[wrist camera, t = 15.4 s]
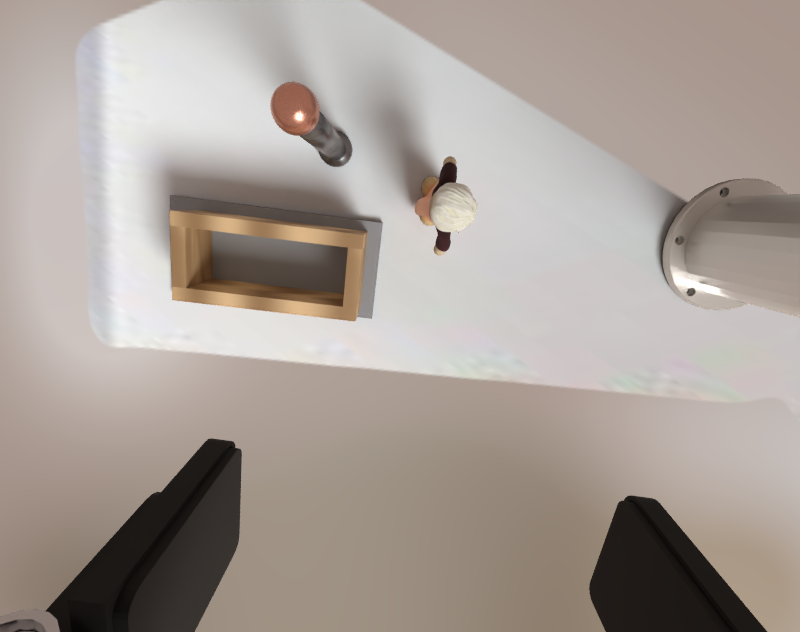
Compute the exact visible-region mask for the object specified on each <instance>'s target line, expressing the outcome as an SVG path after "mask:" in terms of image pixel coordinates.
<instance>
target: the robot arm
mask: <svg viewBox="0 0 800 632" xmlns="http://www.w3.org/2000/svg"><path fill="white" fill-rule="evenodd" d="M663 268H664V273H665V277H666V279H667V281H668V283H669V285H670V287H671V288H672V289H673V290H674V292H675V293H676V294H677V295H678V296H679V297H681V298H682V299H683V300H684V301H686V302H688V303H690V304H693V305H695V306H698V307H702V308H705V309H711V310H729V309H734V308H738V307H742V306H744V305H746V304H751V305H755V306H759V307H762V308H766V309H770V310H773V311H777V312H781V313H785V314H788V315H792V316H796V317H799V318H800V194H792V195H788V194H787V193H785V192H784V191H783V190H782V189H781V188H780V187H778V186H776V185H774V184H772V183H770V182H767V181H763V180H759V179H737V180H729V181H726V182H722V183H718V184H716V185H714V186H712V187H709V188H707V189H705V190H704V191H702V192H701V193H699V194H698V195H696V196H695V197H694V198H693V199H691V200H690V201H689V202H688V203H687V204H686V205H685V206H684V207H683V208H682V210H681V211H680V212H679V214H678V215H677V216H676V217H675V219H674V221H673V223H672V225H671V226H670V228H669V230H668V233H667V236H666V239H665V242H664V248H663ZM241 456H242V454H241V449H238V448H235V444H234V442H232V441H225V440H218V439H208V440H207V441H206V442H205V443H204V444H203V445H202V446H201V447H200V449H199V450H198V451H197V452H196V453H195V454H194V455H193V457H192V458H191V459H190V460H189V461H188V462H187V463H186V465H185V466H184V467H183V468H182V469H181V470H180V471H179V473H178V474H177V475H176V476H175V477H174V478H173V479H172V481H171V482H170V483H169V484H168V485H167V486H166V487H165V488H164V490H163V491H162V492H156V493H154V494H152V495H151V496H150V497H149V498H147V499H146V501H145V502H144V503H143V504H142V505H141V506H140V507H139V508H138V509H137V510H136V511H135V513H134V514H133V515H132V516H131V517H130V518H129V519H128V520H127V521H126V523H125V524H124V525H123V526H122V527H121V528H120V529H119V531H117V533H116V534H115V535H114V536H113V537H112V538H111V539H110V540H109V541H108V542H107V544H106V545H105V546H104V547H103V548H102V549H101V550H100V551H99V552H98V553H97V555H96V556H95V557H94V558H93V559H92V560H91V561H90V562H89V563H88V565H87V566H86V567H85V568H84V569H83V570H82V571H81V572H80V574H79V575H78V576H77V577H76V578H75V579H74V580H73V581H72V582H71V583H70V584H69V586H68V587H67V588H66V589H65V590H64V591H63V592H62V593H61V594H60V595H59V597H58V598H57V599H56V600H55V601H54V602H53V603H52V604H51V606H50V607H49V608H48V609H47V610H46V611H42V610H38V609H33V610H21V611H17V612H13V613H10V614H7V615H3V616H0V632H195V630H196V628H197V626H198V624H199V622H200V620H201V618H202V616H203V614H204V612H205V610H206V608H207V606H208V604H209V602H210V600H211V598H212V596H213V595H214V592H215V591H216V588H217V587H218V585H219V583H220V581H221V579H222V577H223V575H224V573H225V571H226V569H227V567H228V565H229V563H230V561H231V559H232V557H233V555H234V553H235V551H236V548H237V545H238V541H239V526H240V525H239V524H240V492H241V491H240V490H241V489H240V488H241ZM589 589H590V596H591V600H592V602H593V604H594V607H595V609H596V611H597V613H598V616H599V618H600V620H601V622H602V624H603V626H604V629H605V631H606V632H767V631H766V630H765V629H764V628H763V626H762V625H761V624H760V623H759V622H758V620H757V619H756V618H755V617H754V615H753V614H752V613H751V612H750V611H749V609H748V608H747V607H746V606H745V605H744V603H743V602H742V601H741V600H740V599H739V597H738V596H737V595H736V594H735V593H734V591H733V590H732V589H731V588H730V587H729V586H728V584H727V583H726V582H725V581H724V580H723V579H722V577H721V576H720V575H719V574H718V572H717V571H716V570H715V569H714V568H713V566H712V565H711V564H710V563H709V562H708V561H707V559H706V558H705V557H704V556H703V554H702V553H701V552H700V551H699V550H698V549H697V547H696V546H695V545H694V544H693V543H692V541H691V540H690V539H689V538H688V537H687V535H686V534H685V533H684V532H683V531H682V529H681V528H680V527H679V526H678V525H677V523H676V522H675V521H674V520H673V519H672V517H671V516H670V515H669V514H668V513H667V511H666V510H665V509H664V508H663V507H662V506H661V504H660V503H659V502H658V501H657V500H655V499H652V498H645V497H637V496H627V497H626V498H625V500H624V501H621V502H619V503H618V505H617V508H616V511H615V514H614V517H613V519H612V522H611V525H610V528H609V531H608V533H607V536H606V539H605V542H604V545H603V548H602V550H601V553H600V556H599V559H598V562H597V565H596V567H595V570H594V573H593V576H592V579H591V581H590V588H589Z"/></svg>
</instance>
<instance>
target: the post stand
mask: <svg viewBox="0 0 800 632" xmlns="http://www.w3.org/2000/svg"><path fill="white" fill-rule="evenodd" d="M271 113H272V116H273V119H274V120H275V122H276V124H277V125H278V126H279V127H280V128H281V129H282V130H283V131H285V132H286V133H288V134H291V135H296V136H300V137H302V138H303V139H304V140H306V141H307V142H308V143H310V144H311V145H312V146H314V147H315V148H316V149H318V150H319V154H320V156H321V158H322V159H323V160H324V162H326V163H327V164H329V165H330V166H333V167H340V166H343V165H345V164H346V163H347V162H348V161H349V160H350V158H351V156H352V145H351V142H350V140H349V139H348V137H347V136H346V135H345V134H343V133H342V132H339V131H335V130H334V128H333V127H332V126H331V125H330V123H329V122H328V121H327V119H326V118H325V117H324V116H323V114H322V113H321V112H320V111H319V104H318V101H317V99H316V97H315V95H314V94H313V93H312V91H311V90H310V89H309V88H307V87H306V86H304V85H303V84H300V83H297V82H288V83H284V84H282V85H280V86H279V87H278V88H277V89H276V90H275V92H274V93H273V95H272V98H271Z"/></svg>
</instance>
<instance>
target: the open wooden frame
mask: <svg viewBox="0 0 800 632" xmlns="http://www.w3.org/2000/svg"><path fill="white" fill-rule="evenodd" d="M212 231H219V232H227V233H235V234H243V235H251V236H259V237H267V238H275V239H283V240H291V241H299V242H307V243H315V244H323V245H331V246H339V247H347V248H348V254H347V265H346V277H345V288H344V294H340V293H332V292H323V291H315V290H306V289H298V288H290V287H281V286H273V285H265V284H256V283H248V282H240V281H231V280H223V279H214V278H213V277H212ZM367 234H368V232H367V231H359V230H351V229H343V228H335V227H327V226H319V225H311V224H304V223H296V222H288V221H280V220H272V219H264V218H256V217H248V216H240V215H233V214H225V213H217V212H209V211H201V210H176V211H170V240H171V271H172V300H176V301H185V302H193V303H202V304H211V305H219V306H228V307H236V308H245V309H253V310H262V311H271V312H279V313H288V314H296V315H305V316H313V317H322V318H331V319H339V320H348V321H355V320H356V318H357V315H358V312H359V309H360V304H361V294H362V284H363V274H364V264H365V254H366V244H367Z"/></svg>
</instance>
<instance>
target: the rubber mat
mask: <svg viewBox="0 0 800 632" xmlns="http://www.w3.org/2000/svg"><path fill="white" fill-rule="evenodd" d="M176 210H201V211H209V212H217V213H225V214H233V215H240V216H248V217H256V218H264V219H272V220H280V221H288V222H296V223H304V224H311V225H319V226H327V227H335V228H343V229H351V230H359V231H367V232H368V234H367V244H366V254H365V264H364V274H363V284H362V294H361V304H360V309H359V312H358V315H357V317H363V318H371V319H372V312H373V303H374V294H375V286H376V277H377V268H378V259H379V250H380V241H381V232H382V223H380V222H373V221H365V220H357V219H349V218H342V217H334V216H326V215H319V214H311V213H303V212H295V211H288V210H280V209H272V208H265V207H257V206H249V205H241V204H234V203H226V202H218V201H211V200H203V199H195V198H187V197H180V196H171V195H170V211H176ZM347 254H348V248H347V247H339V246H331V245H323V244H315V243H307V242H299V241H291V240H283V239H275V238H267V237H259V236H251V235H243V234H235V233H227V232H219V231H212V277H213V278H214V279H223V280H231V281H240V282H248V283H256V284H265V285H273V286H281V287H290V288H298V289H306V290H315V291H323V292H332V293H340V294H344V288H345V277H346V265H347Z"/></svg>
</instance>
